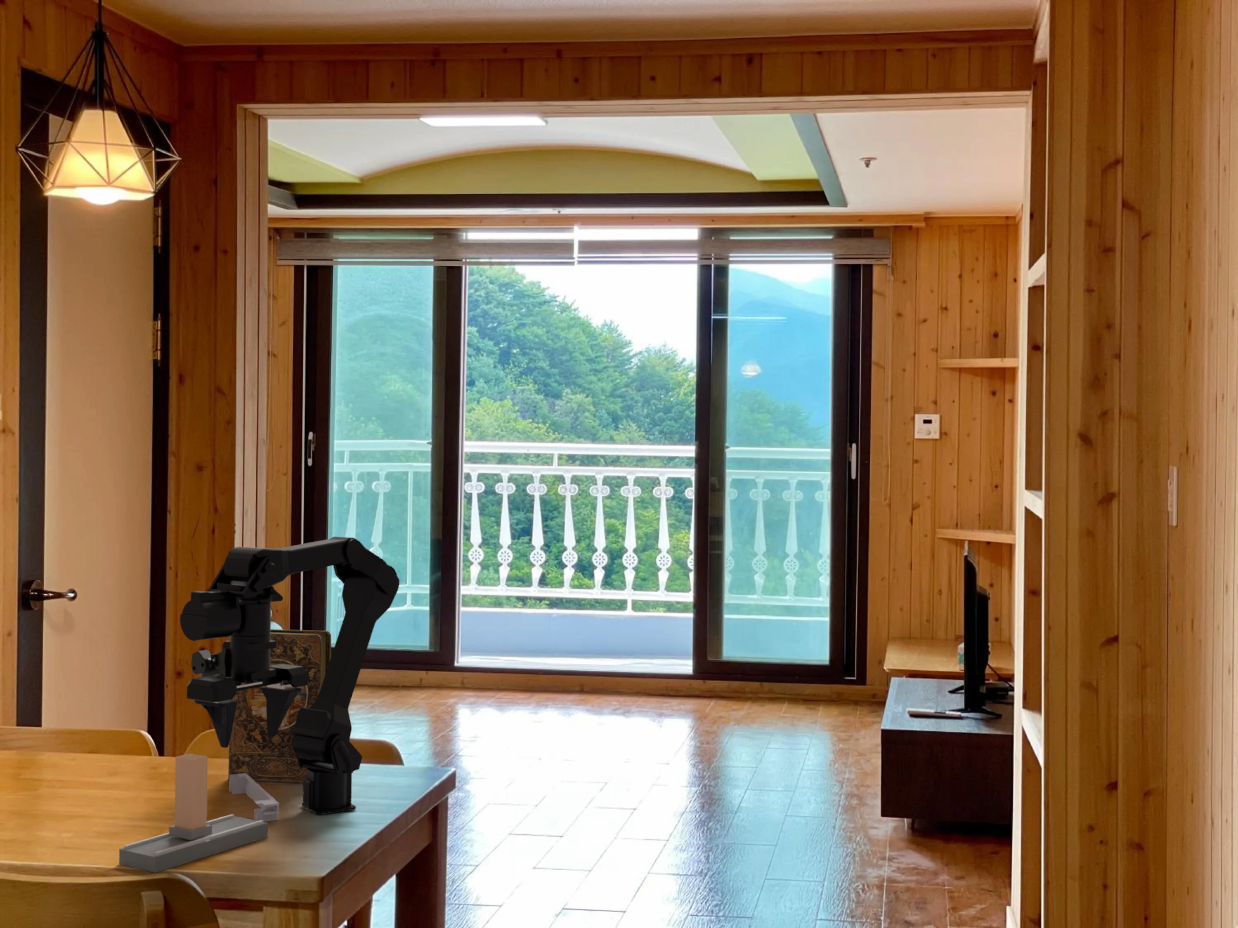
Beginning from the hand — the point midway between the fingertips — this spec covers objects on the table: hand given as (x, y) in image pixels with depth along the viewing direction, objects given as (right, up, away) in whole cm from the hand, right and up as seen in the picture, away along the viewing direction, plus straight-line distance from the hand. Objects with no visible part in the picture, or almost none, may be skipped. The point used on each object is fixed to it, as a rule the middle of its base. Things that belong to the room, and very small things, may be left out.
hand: (248, 741), depth 195 cm
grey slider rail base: (-5, -13, -9) cm, 17 cm away
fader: (-5, -11, -10) cm, 16 cm away
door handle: (-3, -14, +15) cm, 20 cm away
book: (-4, -13, +32) cm, 34 cm away
